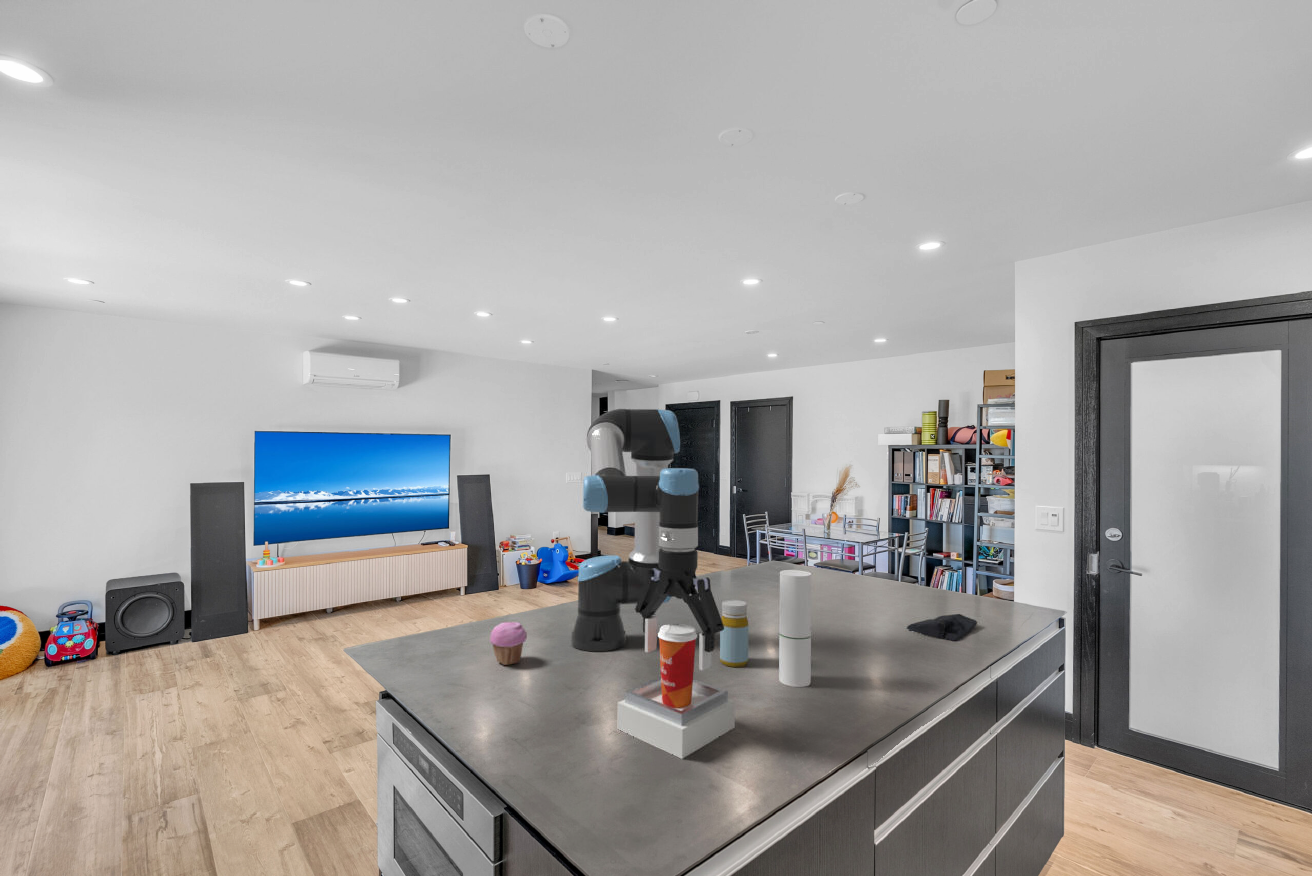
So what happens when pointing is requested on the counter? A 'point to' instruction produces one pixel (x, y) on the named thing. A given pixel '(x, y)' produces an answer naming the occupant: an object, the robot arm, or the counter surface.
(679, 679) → the paper cup
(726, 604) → the bottle
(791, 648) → the cylindrical container
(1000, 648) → the counter surface
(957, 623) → the crumpled black cloth
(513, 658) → the cupcake
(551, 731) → the counter surface
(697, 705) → the square tray
